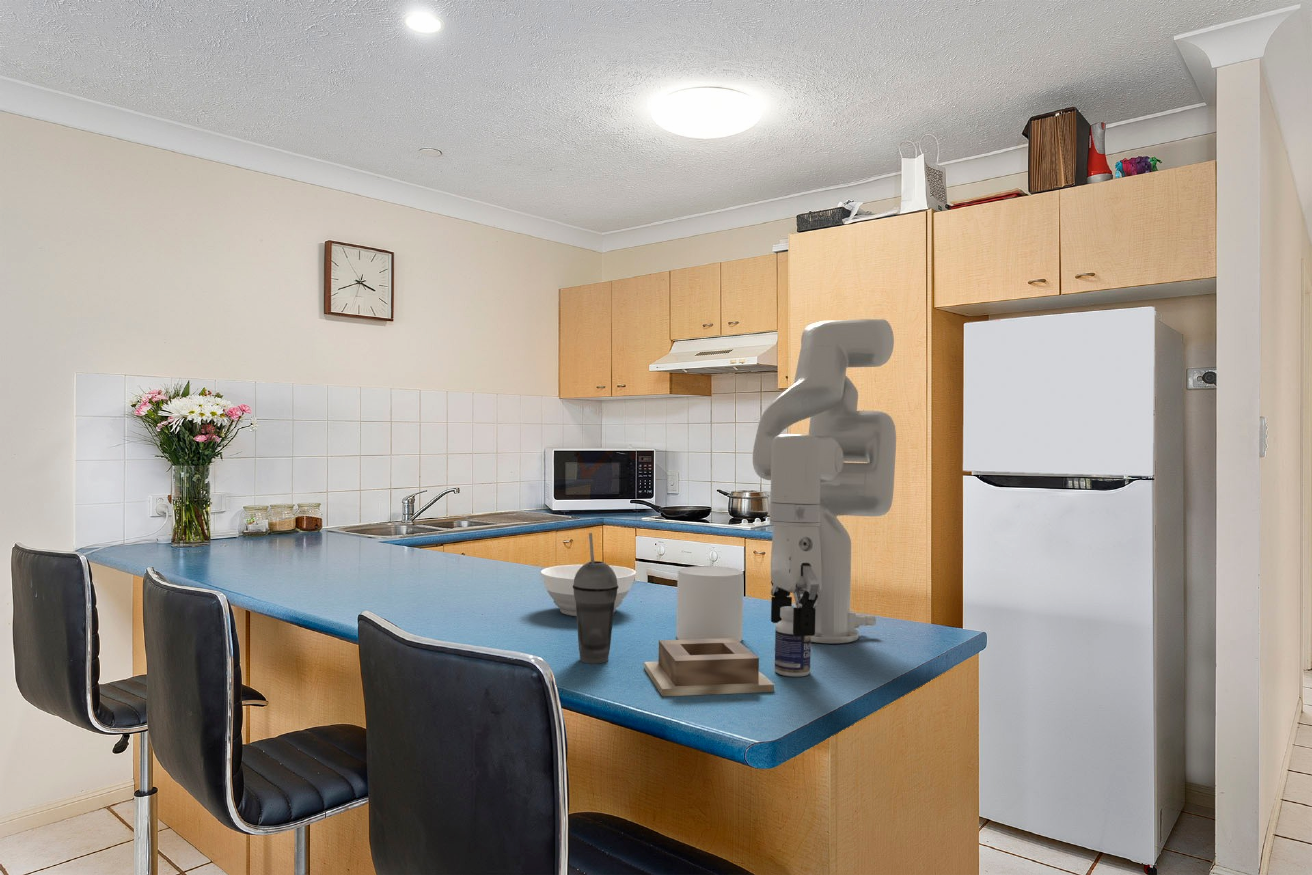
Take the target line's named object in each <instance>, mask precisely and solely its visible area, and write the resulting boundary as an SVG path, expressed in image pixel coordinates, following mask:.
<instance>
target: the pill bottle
mask: <svg viewBox="0 0 1312 875" xmlns="http://www.w3.org/2000/svg"><path fill="white" fill-rule="evenodd" d="M794 608H797V607H796V605H794V606H785V607H781V608H780V617H781V618H782V620H781V621H779V622H778V623H775V630H774V632H775V633H774V635H775V636H774V640H775V641H774V642H775V643H774V671H775V672H776V673H777V674H778V675H781V676H785V677H791V678H792V677H794V678H795V677H797V678H799V677H806V676H808V675H809V674H810V673H811V659H812V658H811V656H812V655H811V650H812V648H811V647H812V646H811V645H812V642H811V636H795V635H794V634H793V609H794Z"/></svg>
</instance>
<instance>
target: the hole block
mask: <svg viewBox="0 0 1312 875" xmlns="http://www.w3.org/2000/svg"><path fill="white" fill-rule="evenodd" d="M643 664H644V665H643V666H644V668H643V669H644V670H645V672H646V673H647V675H648V677H649V678H650V679H651V681H652V683H653V685H654V686H655V688H656V689H657V690H658V692H659V693H660V695H661V696H662V697H679V696H683V697H684V696H705V695H727V694H730V695H731V694H753V693H756V694H757V693H770V692H771V693H775V683H773V681H771V680H770V679H769V678H768V677H767V676H766V675H764V674H763V673H762V672H761V671H760V668H759V667H760V658H759V657H758V656H757V655H755V654H754V652H752V651H751V650H750V649H749V648H747V647H746V646H745V645H744V644H743V643H742V642H739V641H738V640H736V639H735V638H719V639H683V640H679V639H659V640H658V660H657V661H656V660H655V661H644V663H643Z"/></svg>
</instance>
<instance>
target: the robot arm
mask: <svg viewBox="0 0 1312 875" xmlns="http://www.w3.org/2000/svg"><path fill="white" fill-rule="evenodd" d="M894 344H895V339H894V331H893V329H892V325H891V324H890V323H889V322H888V321H887V320H886V319H883V318H877V319H876V318H875V319H873V318H872V319H870V318H868V319H867V318H866V319H865V318H862V319H838V320H836V319H834V320H833V319H832V320H822V321H818V322H815V323H811V324H809V325H807V327H805V328H804V329H803V331H802V334H801V339H800V345H801V346H800V350H799V351H800V352H799V355H798V361H797V366H796V369H795V371H796V372H795V376H794V381H793V385H791V386H789V387H788V388H787V389H786V390H785V391H783V392H782V393H781V394H779V395H778V396H777V397H776V398H775V399H774V400H773V401H772V402H771V403H770V404H769V405H768V406H767V407H766V408H765V410H764V411H763V413H762V414H761V417H760V420H759V422H758V424H757V425H758V426H757V429H756V430H757V431H756V434H755V439H754V444H753V449H752V465H753V470H754V472H755V474H756V475H757V476H758V477H759V478H761V479H763V480H767V481H770V493H769V494H770V499H769V501H770V503H769V525H773V529H772V538H771V540H772V541H771V551H770V584H771V586H772V587H771V590H770V595H771V597H770V598H771V601H770V602H771V604H770V605H771V606H770V611H771V612H770V621H771V622H772V623H773V624H777V623H778V622H779V621H781V620H782V618H781V617H780V608H781V607H785V606H792V604H793V600H794V603H795V607H797V608H794V609H793V634H794V635H795V636H811V643H818V644H847V643H851V642H855V641H857V640H858V639H859V637H860V636H859V635H860V632H859V630H857V629H859V628H860V627H862V626H863V627H864V626H865V627H875V626H876V624H877V619H876V618H877V617H876V616H875V615H874V614H873V615H872V614H871V615H870V614H867V615H866V614H865V615H863V614H862V613H861V614H860V613H856V612H853V610H851V595H852V594H851V589H852V588H851V586H852V585H851V583H852V582H851V581H852V578H851V577H852V574H851V573H852V541H851V540H852V539H851V536H850V533H849V532H848V531H847V529H846V528H845V526H844V525H843V523H841V521H840V519H838V516H839V517H840V516H851V517H852V516H854V517H881V516H885V515H886V514H887V513H888V512H889V511H890V510H891V508H892V504H893V499H894V489H895V485H894V484H895V469H896V450H897V430H896V425H895V422H894V420H893V418H892V417H891V415H890V414H889V413H886V412H883V411H879V410H858V402H859V401H858V400H859V392H858V389H857V387H856V386H855V384H854V383H853V381H851V379H850V378H849V377H848V376H847V375H846V374H847V368H848V369H849V368H875V367H876V368H877V367H882V366H883V365H885V364H887V362H888V361H889V360H890V359H891V356H892V354H893V350H894V346H895V345H894ZM806 419H809V427H808V434H805V433H803V434H801V433H800V434H799V433H785V434H784V433H783V434H782V432H783V431H784V430H786V429H788V428H789V427H790V426H792V425H794V424H796V423H799V422H801V421H803V420H806ZM791 593H792V595H793V596H790V595H791Z"/></svg>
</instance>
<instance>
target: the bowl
mask: <svg viewBox="0 0 1312 875" xmlns="http://www.w3.org/2000/svg"><path fill="white" fill-rule="evenodd" d="M584 564H585V563H584ZM584 564H566V565H565V564H564V565H554V566H549V567H546V568H543V569H541V570H540V575H541V579H542V582H543V584H544V588H545V589H546V592H547V593H548V595H549V596H550V597H551V598H552V600H553V603H554V605H556V607H558V608H559V612H561V613H562V614H564V615H567V616H571V617H577V614H576V600H575V597H574V589H573V585H574V578H575V576H576V573H577V572H578V570H579V569H580V568H581V567H582V566H583V565H584ZM608 565H609V564H608ZM609 566H610V567H611V568H612V570H613V571H614V573H615V575H616V578H617V585H618V589H617V596H616V600H615V604H614V613H615V612H616V610H617V609H616V608H619V607H620V606H621V605H622V603H623V600H624V599H625V598H626V597H627V595H628V594H629V592H630V590H631V588H632V585H633V584H634V580H635V578H636V575H637V571H636V570H635V569H632V568H629V567H625V566H618V565H609Z"/></svg>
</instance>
